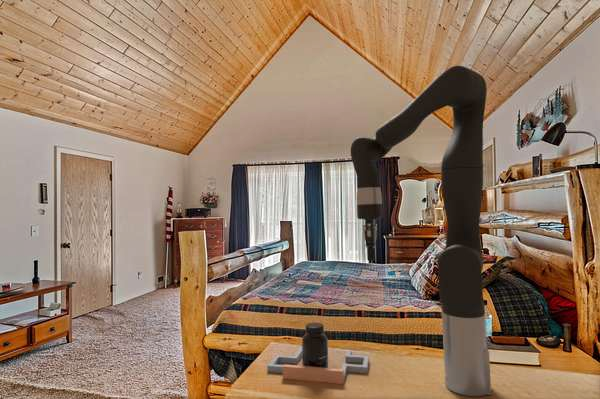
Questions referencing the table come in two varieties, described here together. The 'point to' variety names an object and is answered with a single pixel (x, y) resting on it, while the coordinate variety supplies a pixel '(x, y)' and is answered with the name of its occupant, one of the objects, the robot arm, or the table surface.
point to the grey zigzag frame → (317, 368)
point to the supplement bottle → (315, 346)
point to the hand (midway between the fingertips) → (371, 260)
